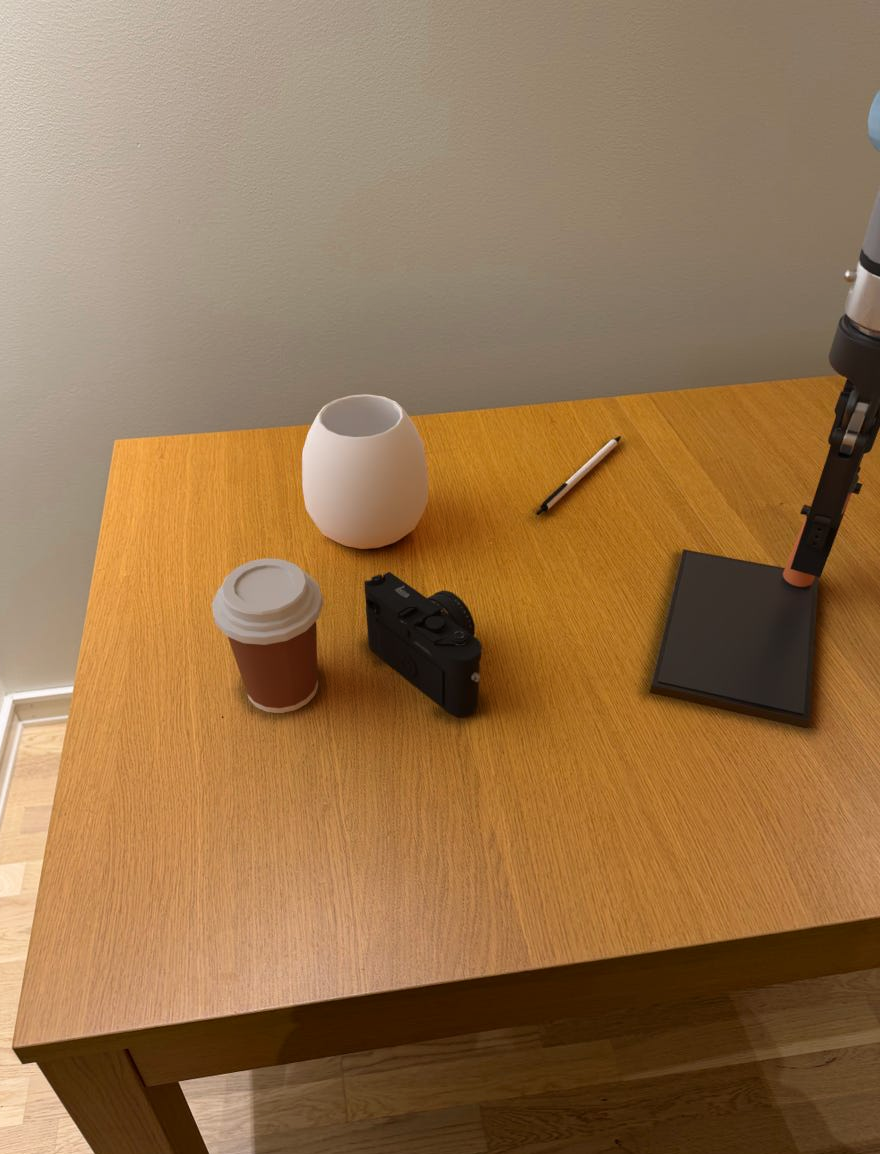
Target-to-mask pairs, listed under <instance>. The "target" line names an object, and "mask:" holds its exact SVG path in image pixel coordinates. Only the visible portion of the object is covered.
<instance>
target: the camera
mask: <svg viewBox="0 0 880 1154" xmlns="http://www.w3.org/2000/svg"><path fill="white" fill-rule="evenodd" d="M363 583H364V599H365V616H366V628H367V641H368V648H369V650H370V651H371V652H372V653H373V654H374V655H375V656H377V658H379V659H380V660H381V661H383V662H384V663H385V664H387V666H389V667H391V668H392V669H393V670H394V671H395V672H396V673H398V674H399V675H401V677H403V678H404V679H405V680H407V681H408V682H409V683H410V684H412V685H413V686H414V687H415V688H417V689H418V690H419V691H420V692H421V693H423V694H424V695H425V696H427V697H428V698H429V699H430V700H432V701H433V702H434V703H436V704H437V706H439V707H441V708H442V709H443V710H444V711H446V712H447V713H448V714H449V715H451V716H454V717H457V718H464V717H469V716H471V715H472V714H473V713H475V712H476V710H477V709H478V706H479V695H480V694H479V692H480V691H479V690H480V681H481V676H480V668H481V666H480V662H481V660H482V649H483V648H482V643H481V642H480V640H479V639H478V638H477V637H475V634H476V627H475V625H476V624H475V621H474V619H473V615H472V613H471V610H470V609H469V608H468V606H467V605H466V603H465V602H464V601H463V600H462V599H461V597H459V596H458V595H457V594H455V593H454V592H452V591H450V590H443V589H442V590H440V591H437V592H435V593H433V594H432V595H430V596H428V597H426V596H425V595H423V594H422V593H421V592H419V591H418V590H416V589H415V588H413V587H412V586H411V585H409V584H408V583H407V582H406V581H403V579H400V577H398V576H396V575H395V574H394V573H392V572H391V571H387V572H386V573H383V575H382V574H381V573H380V574H379V573H378V574H376V575H373V576H371V577H370V579H368V580H365V581H363Z"/></svg>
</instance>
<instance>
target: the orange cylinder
mask: <svg viewBox="0 0 880 1154" xmlns="http://www.w3.org/2000/svg"><path fill="white" fill-rule="evenodd" d="M859 480H860V476H859V473H858V474H857V473H856V475H855V478H854V480H853V483H852V486H851V489H850V491H849V494H848V497H847V500H846V503H845V505H844V508H843V511H842V515H843V513H844V510H845V508H846V509H847V507H848V504H849V502H850V499H851V497H852V495H853V493H852V492H853V491H854V489H855V487H856V485H857V483H859ZM813 499H814V497H813V498H812V501H811V503H810V505H809V506H811V505H812V502H813ZM848 501H849V502H848ZM846 506H847V507H846ZM845 511H846V510H845ZM844 514H845V513H844ZM843 516H844V515H843ZM806 518H807V517H806V516H805V518H804V521H803V523H802V526H801V528H800V529H799V530H800V531H799V533H798V535H797V538H796V540H795V543H794V545H793V547H792V550H791V553H790V555H789V557H788V560H787V562H786V565H785V566H784V568H785V569H784V572H783V577H784V579H785V580H786V581H787V582H788V583H790V584H792V585H794V586H798V587H807V586H809V585H811V584H812V583H813V581H814V578H815V576H813V575H810V574H806V573H803V572H799V571H796V570H792V569H790V568H791V565H792V562H793V559H794V556H795V553H796V550H797V547H798V544H799V541H800V538H801V535H802V532H803V529H804V526H805V523H806Z"/></svg>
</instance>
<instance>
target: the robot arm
mask: <svg viewBox="0 0 880 1154" xmlns="http://www.w3.org/2000/svg"><path fill="white" fill-rule="evenodd" d="M867 129H868V131H867V135H868V137H869V141H870V143H871V144H872V147H873V148H874V149H875V150H876V151H877V152H878V153H880V88H879V89H878V91H877V93H876V94H875V97H874V98H873V101H872V103H871V106H870V109H869V114H868V118H867ZM876 193H877V194H876V197H875V200H874V205H873V208H872V211H871V215H870V218H869V223H868V225H867V229H866V232H865V235H864V239H863V243H862V247H861V248H860V252H859V257H858V261H857V264H856V268H848V269H847V270H846V271H845V273H844V276H843V279H844V280H845V282H847V283H851V286H850V288H849V290H848V293H847V296H846V299H845V303H844V306H843V307H844V308H843V310H844V314H843V315H842V316H841V317H840V318H839V320H838V323H837V327H836V330H835V333H834V337H833V339H832V343H831V347H830V349H829V353H828V361H829V364H830V365H829V366H831V368H832V369H833V371H834V372H836V374H838V375H839V376H840V377H843V378H845V379H846V380H845V383H844V386H843V389H842V390H841V391H840V393H839V396H838V399H837V401H836V404H835V407H834V414H835V417H834V421H833V424H832V426H831V430H830V432H829V435H828V438H827V443H828V444H829V445H830V446H829V449H828V453H827V456H826V459H825V461H824V465H823V467H822V471H821V474H820V478H819V481H818V484H817V487H816V490H815V493H814V496H813V498H814V499H813V498H812V501H813V502H812V501H811V503H812V505H811V504H810V505H811V506H810V505H808V504H803V505H802V508H801V509H800V515H803V516H805V518H806V517H807V518H806V523H805V526H804V529H803V532H802V535H801V538H800V541H799V544H798V547H797V550H796V553H795V556H794V559H793V562H792V565H791V568H790V569H792V570H796V571H799V572H803V573H806V574H810V575H813V576H817V577H819V578H821V577H822V574H823V572H824V569H825V566H826V563H827V560H828V558H829V556H830V554H831V551H832V549H833V546H834V542H835V540H836V537H837V534H838V531H839V528H840V527H841V523H842V522H843V518H844V515H845V512H846V510H847V507H848V505H847V506H846V508H845V510H844V513H843V515H842V511H843V508H844V505H845V503H846V500H847V497H848V494H849V491H850V489H851V486H852V483H853V480H854V478H855V475H856V473H857V474H858V475H859V473H860V471H861V469H862V467H861V464H862V461H863V459H864V456H865V454H868V453H870V452H871V451H872V450H873V447H874V445H875V441H876V438H877V436H878V433H879V431H880V185H879V187H878V189H877V192H876ZM862 488H863V483H861V482H857V485H856V487H855V489H854V491H853V492H852V494H855V495H860V492H861V490H862ZM849 502H850V500H849V501H848V503H849Z"/></svg>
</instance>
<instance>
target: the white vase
mask: <svg viewBox="0 0 880 1154" xmlns="http://www.w3.org/2000/svg"><path fill="white" fill-rule="evenodd" d="M301 459H302V460H301V479H302V480H301V481H302V486H301V488H302V493H303V500H304V505H305V506H304V507H305V510H306V512H307V513H308V515H309V516H310V518H311V521H313V523H314V525H315V526H316V527H317V528H318V530H319V532H320V533H321V534H322V535H323V536H324V537H327V538H329V539H330V540H332V541H334V542H336V543H338V544H340V545H342V546H345V547H349V548H354V549H360V550H367V549H380V548H382V547H385V546H388V545H392V544H394V543H397V542H398V541H400V540H401V539H403V538H404V537H405V536H406V535H408V534H409V533H411V532H413V531H414V530H415V529H416V527H417V526H418V524H419V522H420V520H421V518H422V516H423V514H424V511H425V509H426V507H427V504H428V502H429V482H430V481H429V480H430V479H429V472H428V464H427V456H426V451H425V445H424V441H423V439H422V437H421V434H420V433H419V430H418V427H417V426H416V425H415V423H414V422H413V420H412V418H411V417H410V416H409V414H408V413H407V412H406V410H405V409H404V408H403V407H402V405H400V404H399V403H398V402H397V401H396V400H393V399H390V398H389V397H385V396H382V395H376V394H370V393H369V394H368V393H366V394H365V393H364V394H352V395H351V394H350V395H348V396H347V395H346V396H344V397H340V398H337V399H334V400H332V401H330V402H329V403H327V404H325V405H323V407H322V408H321V409H320V410H319V412H318V413H317V414H316V417H315V418H314V420H313V422H312V424H311V426H310V427H309V429H308V432H307V435H306V437H305V442H304V445H303V448H302V455H301Z"/></svg>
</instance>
